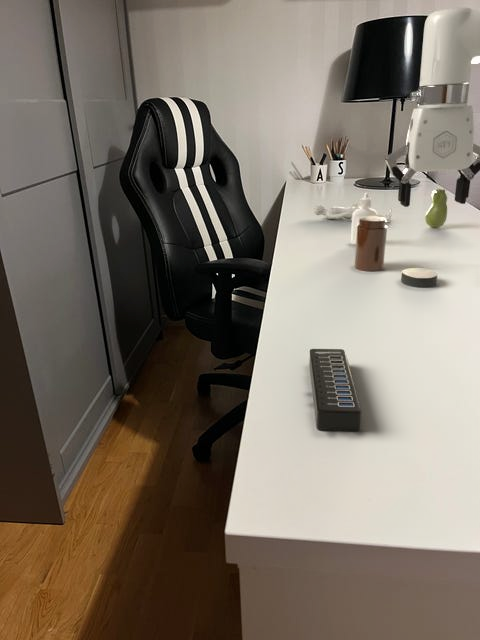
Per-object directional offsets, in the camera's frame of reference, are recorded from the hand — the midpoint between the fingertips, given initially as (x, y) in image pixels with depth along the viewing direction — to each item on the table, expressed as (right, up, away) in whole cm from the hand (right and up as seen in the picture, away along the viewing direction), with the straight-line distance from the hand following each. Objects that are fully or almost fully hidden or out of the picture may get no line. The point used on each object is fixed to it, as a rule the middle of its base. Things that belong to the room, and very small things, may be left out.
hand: (432, 203), depth 88 cm
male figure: (-1, +9, +58) cm, 59 cm away
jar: (-7, -10, +15) cm, 19 cm away
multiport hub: (-23, -29, -30) cm, 48 cm away
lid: (0, -12, +5) cm, 13 cm away
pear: (+19, +4, +47) cm, 51 cm away
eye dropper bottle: (-4, -2, +32) cm, 33 cm away
